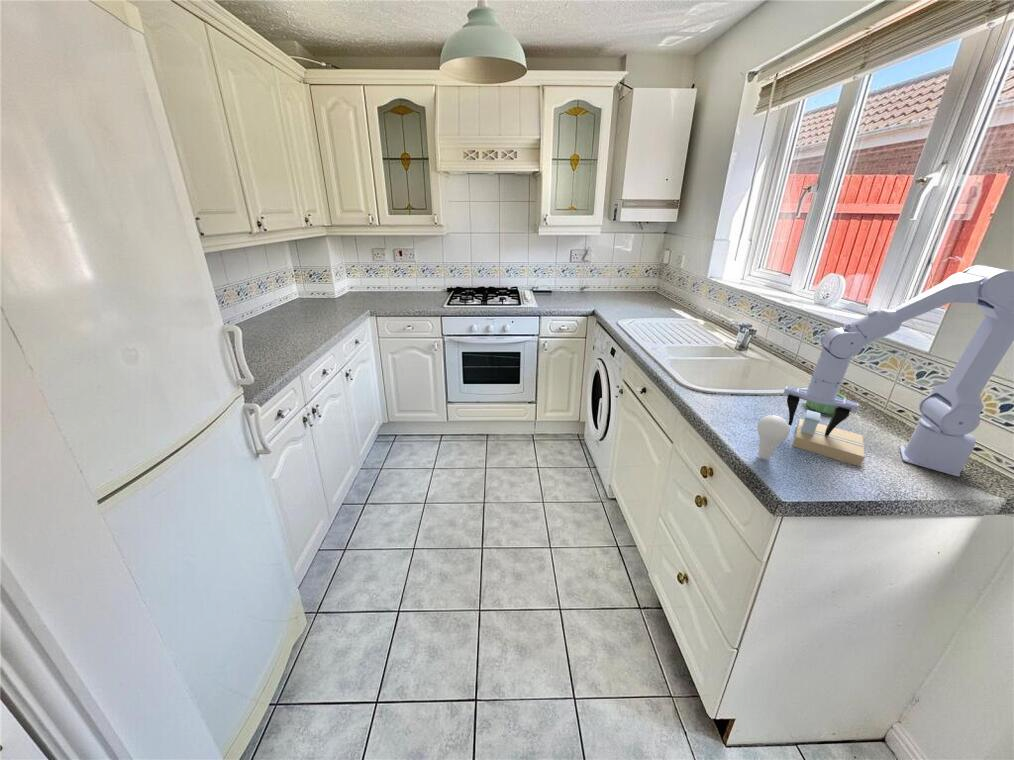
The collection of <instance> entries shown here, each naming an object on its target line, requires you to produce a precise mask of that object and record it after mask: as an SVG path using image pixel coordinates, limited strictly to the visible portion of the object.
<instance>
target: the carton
mask: <svg viewBox="0 0 1014 760" xmlns="http://www.w3.org/2000/svg"><path fill="white" fill-rule="evenodd" d="M803 422H804V418H799V421H798V423H797V426H796V430H795V435H794V438H793V443H792V446H793V447H795V448H797V449H801V450H805V451H807V452H808V451H809V452H810V453H815V454H818V455H820V456H824V457H828V458H831V459H835V460H837V461H840V462H844V463H848V464H851V465H853V466H858V467H861V465H862V463H863V461H864V459H865V446H864V438H863V434H858V433H855V432H852V431H847V430H844V429H841V428H837V427H835V428H834V429H833V430H832V431H831V433H830V434H829V436H827V435H825V431H826V429H827V426H828V425H824V424H822V423H818V424H817V427H816V430H815V432H814V435H810V434H806V433H803V432H801V430H802V424H803Z"/></svg>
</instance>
